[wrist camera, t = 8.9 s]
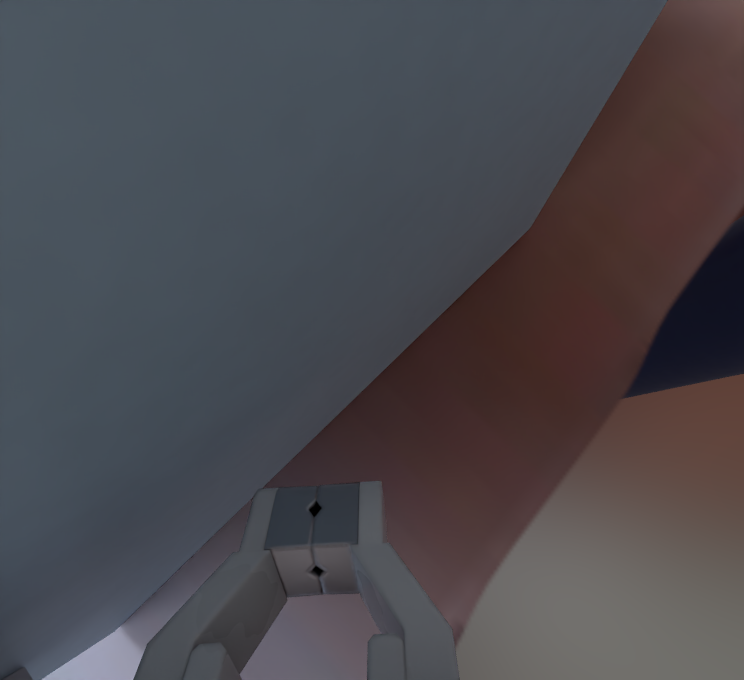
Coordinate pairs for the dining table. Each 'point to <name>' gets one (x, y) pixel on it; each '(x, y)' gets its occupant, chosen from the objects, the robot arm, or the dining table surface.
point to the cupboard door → (240, 250)
